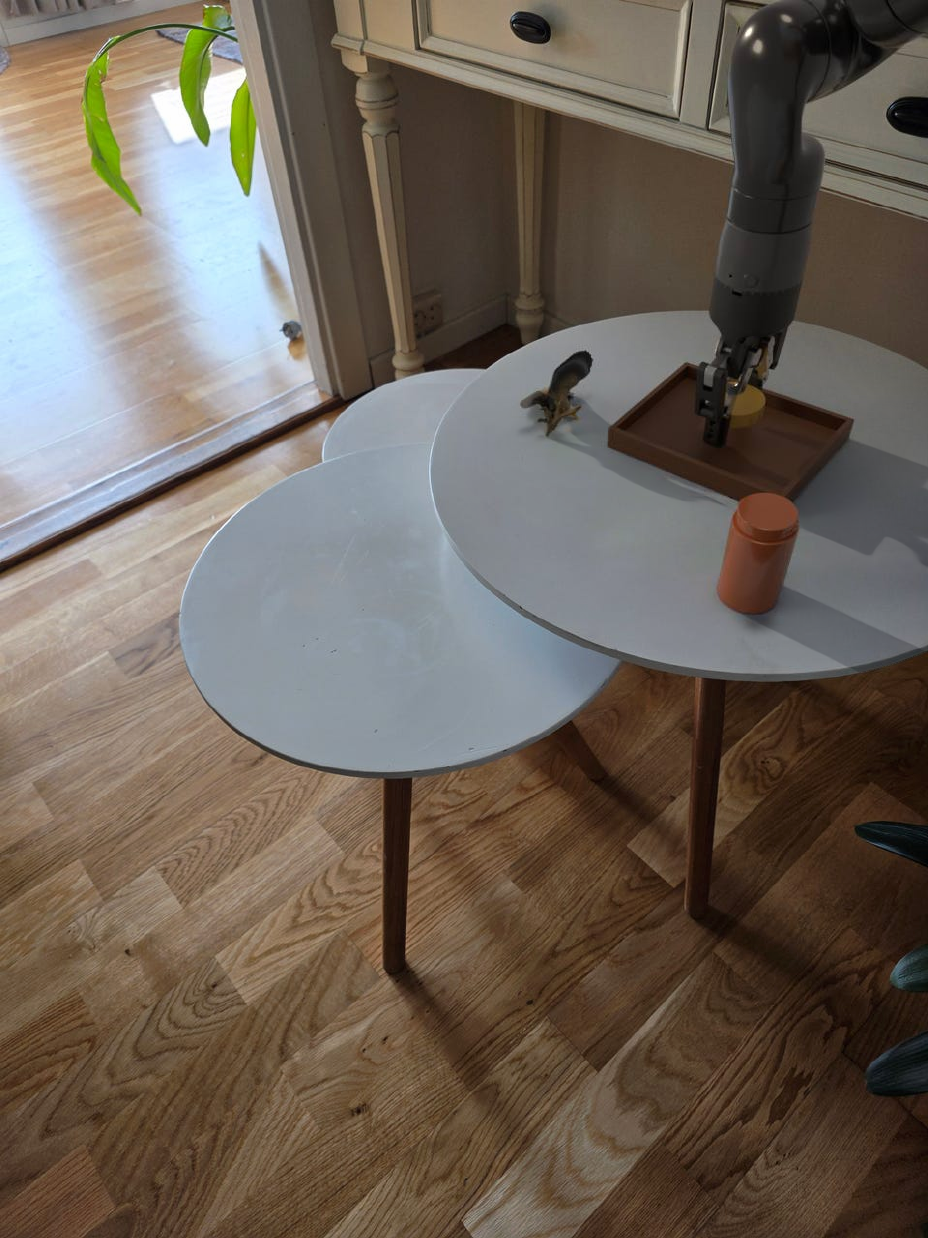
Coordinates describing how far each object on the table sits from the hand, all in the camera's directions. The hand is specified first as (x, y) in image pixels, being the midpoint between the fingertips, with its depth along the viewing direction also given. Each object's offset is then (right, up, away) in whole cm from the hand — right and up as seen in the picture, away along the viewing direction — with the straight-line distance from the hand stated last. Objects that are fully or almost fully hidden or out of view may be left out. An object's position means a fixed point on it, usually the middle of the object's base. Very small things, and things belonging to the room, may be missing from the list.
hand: (729, 428), depth 88 cm
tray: (0, -1, +1) cm, 2 cm away
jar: (-2, -17, -13) cm, 22 cm away
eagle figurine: (-17, +3, +7) cm, 18 cm away
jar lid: (0, +2, -2) cm, 3 cm away
